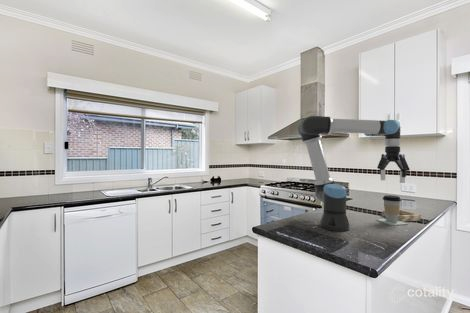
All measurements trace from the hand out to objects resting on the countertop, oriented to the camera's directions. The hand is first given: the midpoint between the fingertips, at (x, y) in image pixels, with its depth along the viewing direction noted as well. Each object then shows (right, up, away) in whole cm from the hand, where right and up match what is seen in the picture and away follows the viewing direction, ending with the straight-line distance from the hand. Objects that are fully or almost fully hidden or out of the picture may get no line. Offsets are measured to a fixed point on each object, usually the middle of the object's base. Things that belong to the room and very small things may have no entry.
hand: (392, 181), depth 142 cm
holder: (+12, -25, +10) cm, 29 cm away
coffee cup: (0, -24, 0) cm, 24 cm away
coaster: (0, -25, 0) cm, 25 cm away
